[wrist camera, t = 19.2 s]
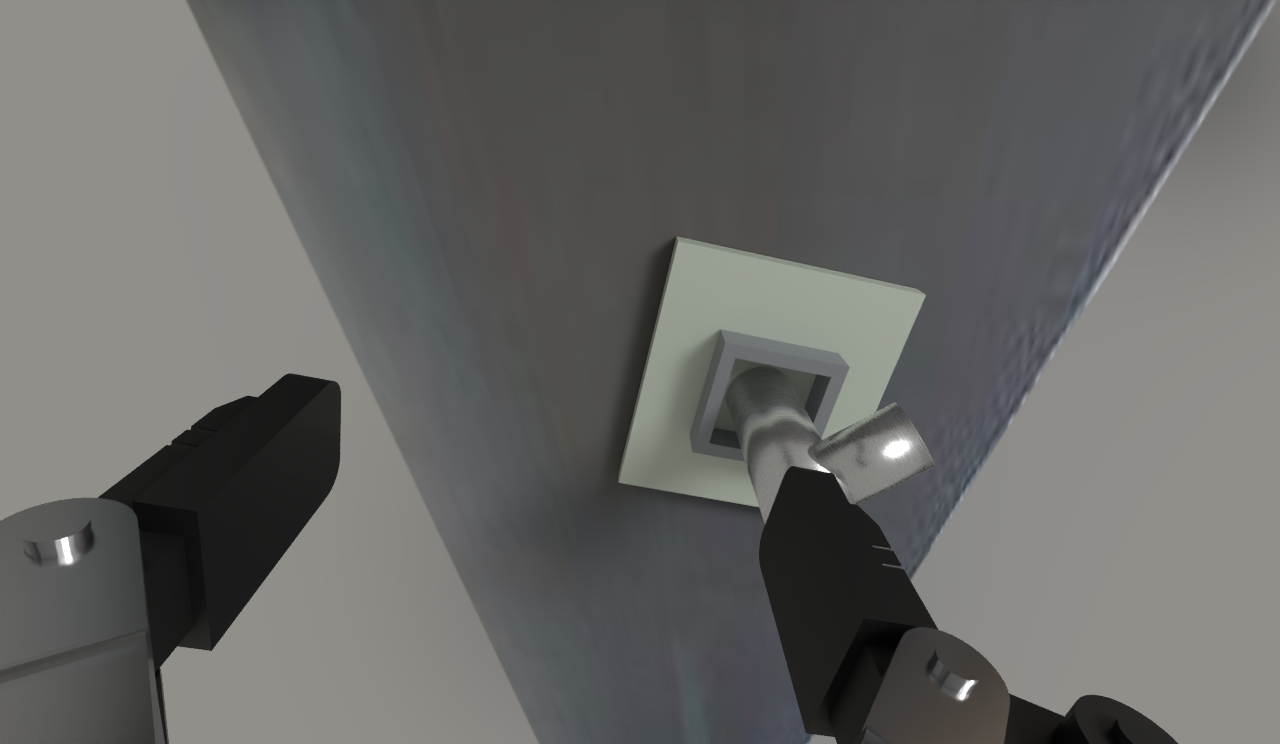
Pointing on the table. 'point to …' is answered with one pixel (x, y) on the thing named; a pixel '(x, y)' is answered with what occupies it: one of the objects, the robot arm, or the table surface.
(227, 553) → the robot arm
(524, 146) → the table surface
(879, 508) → the table surface
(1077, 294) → the table surface
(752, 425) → the metal pipe fitting
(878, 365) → the plate with square socket
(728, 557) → the table surface
